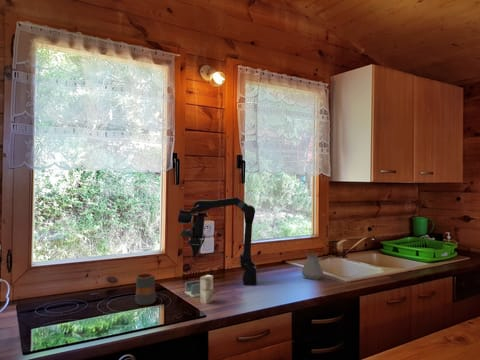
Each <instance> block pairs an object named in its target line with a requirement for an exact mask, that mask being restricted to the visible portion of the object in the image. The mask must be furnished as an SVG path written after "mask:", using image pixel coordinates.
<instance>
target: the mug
mask: <svg viewBox="0 0 480 360" xmlns="http://www.w3.org/2000/svg"><path fill="white" fill-rule="evenodd" d="M135 280H136V281H135V287H136V288H135V289H136V290H135V295H134V296H135V297H134V298H135V299H134V300H135V301H134V302H135V304H136V305H138V306H149V305H150V306H151V305H153V304H155V303H156V299H157V297H156V296H157V295H156V290H155V289H156V288H155V285H156V280H155V274H153V273H141V274H138V275H136V277H135Z"/></svg>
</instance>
